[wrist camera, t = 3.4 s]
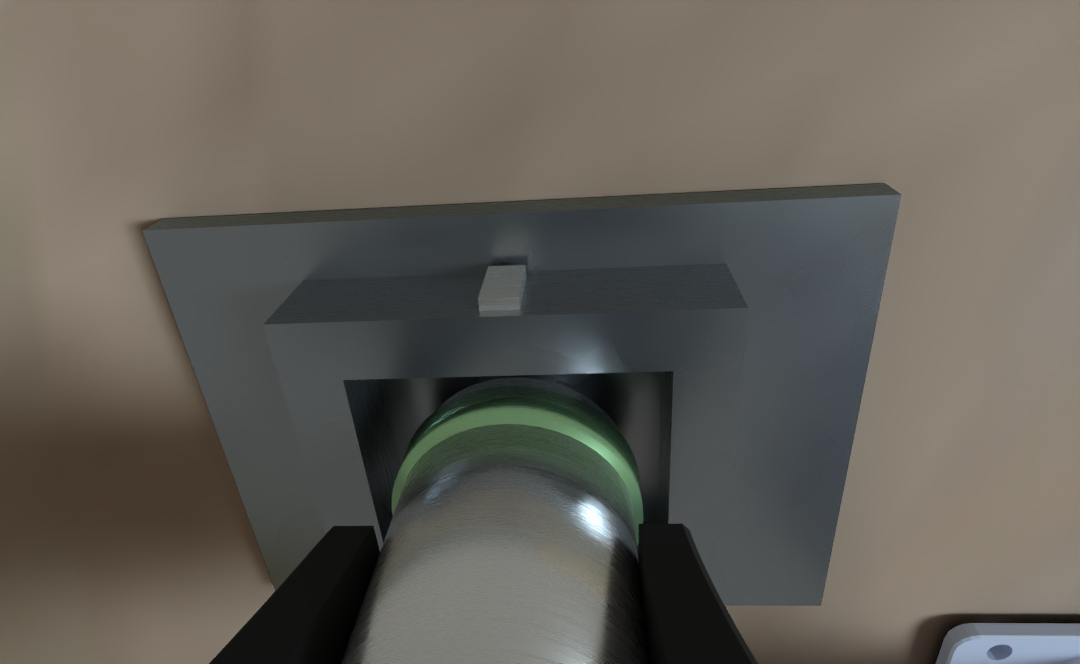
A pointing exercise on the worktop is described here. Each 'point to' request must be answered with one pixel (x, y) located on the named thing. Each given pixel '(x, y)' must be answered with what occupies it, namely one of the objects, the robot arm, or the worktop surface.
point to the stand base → (548, 352)
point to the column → (509, 537)
